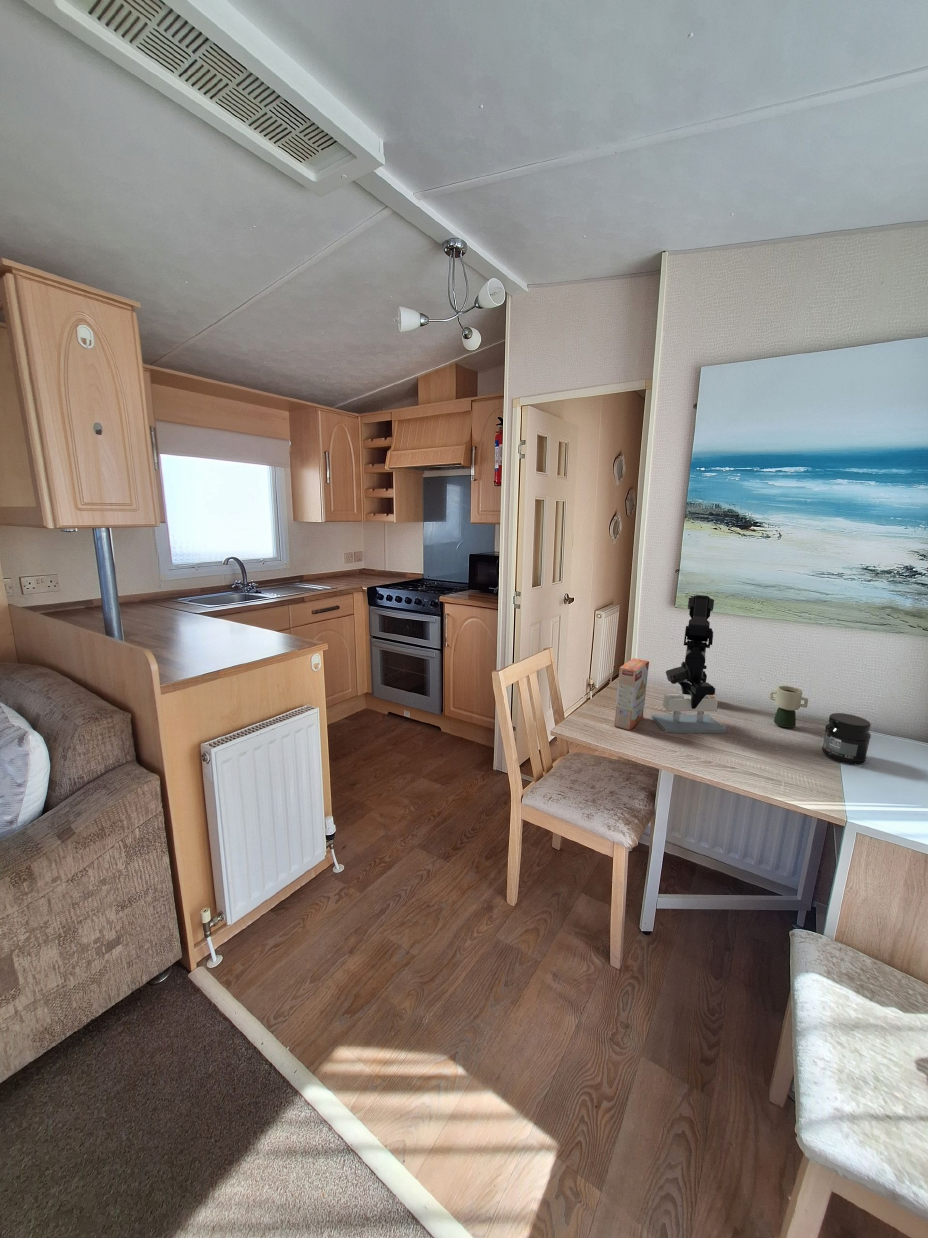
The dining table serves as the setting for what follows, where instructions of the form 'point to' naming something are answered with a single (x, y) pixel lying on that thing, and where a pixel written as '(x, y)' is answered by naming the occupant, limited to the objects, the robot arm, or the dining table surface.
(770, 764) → the dining table surface
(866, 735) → the supplement container
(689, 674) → the robot arm
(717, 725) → the stud board
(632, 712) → the cracker box
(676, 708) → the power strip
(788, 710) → the character mug
